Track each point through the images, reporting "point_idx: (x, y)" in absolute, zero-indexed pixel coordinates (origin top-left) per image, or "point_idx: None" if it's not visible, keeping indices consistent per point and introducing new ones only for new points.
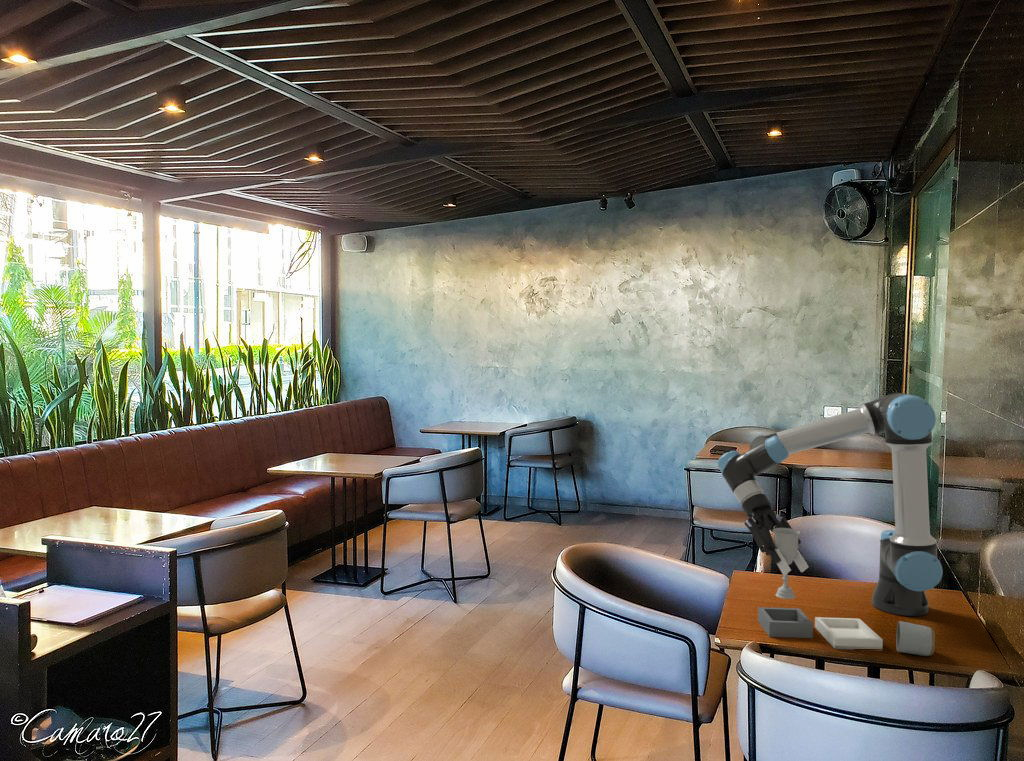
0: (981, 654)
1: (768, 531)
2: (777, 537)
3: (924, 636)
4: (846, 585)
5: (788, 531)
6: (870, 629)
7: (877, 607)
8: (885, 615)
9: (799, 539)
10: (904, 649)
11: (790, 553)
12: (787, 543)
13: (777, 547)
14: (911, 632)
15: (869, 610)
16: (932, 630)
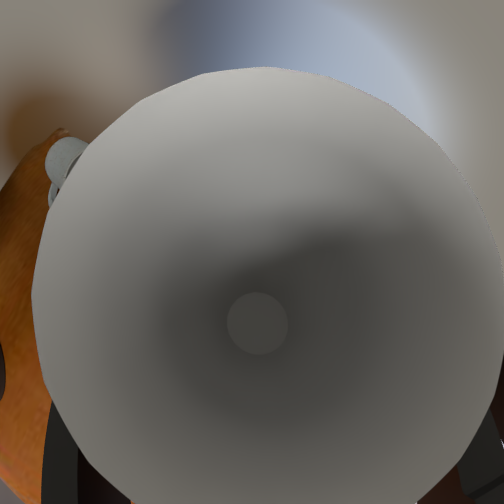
0: (23, 172)
1: (472, 443)
2: (428, 274)
3: (76, 138)
4: (11, 474)
5: (149, 449)
6: None
7: (3, 371)
8: (9, 341)
9: (51, 408)
10: None
11: (275, 229)
12: (326, 190)
13: (369, 295)
14: (83, 142)
15: (17, 373)
16: (55, 142)
